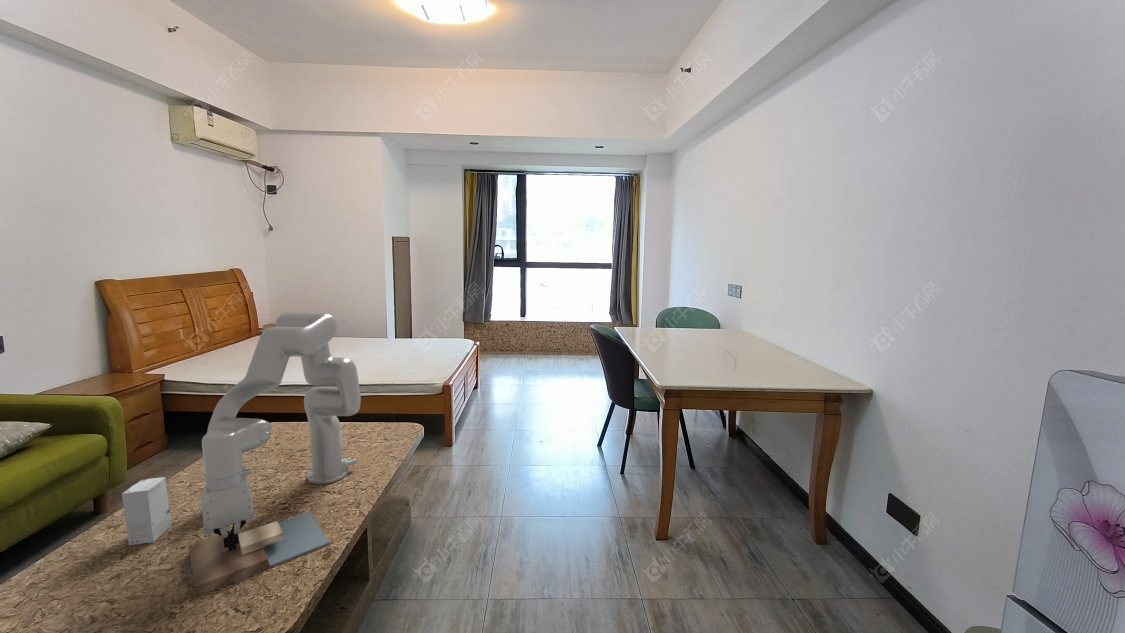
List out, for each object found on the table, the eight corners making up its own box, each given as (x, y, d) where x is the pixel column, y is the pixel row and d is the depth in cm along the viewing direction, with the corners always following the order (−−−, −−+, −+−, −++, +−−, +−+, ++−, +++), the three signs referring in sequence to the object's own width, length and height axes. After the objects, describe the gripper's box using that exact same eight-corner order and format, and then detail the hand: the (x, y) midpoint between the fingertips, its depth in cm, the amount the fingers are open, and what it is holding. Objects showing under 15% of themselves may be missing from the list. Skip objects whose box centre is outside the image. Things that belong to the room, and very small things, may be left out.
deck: (254, 532, 126) (253, 524, 126) (268, 568, 113) (267, 559, 112) (189, 554, 117) (188, 545, 117) (196, 596, 103) (195, 586, 103)
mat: (310, 513, 136) (309, 511, 136) (329, 544, 122) (329, 542, 122) (255, 532, 127) (255, 530, 127) (270, 567, 113) (269, 565, 113)
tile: (277, 527, 125) (277, 520, 125) (283, 539, 120) (282, 532, 119) (237, 541, 119) (237, 534, 118) (242, 554, 114) (241, 547, 113)
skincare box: (153, 543, 121) (147, 491, 119) (127, 546, 120) (119, 493, 118) (172, 525, 129) (166, 475, 127) (147, 527, 128) (141, 477, 126)
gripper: (258, 464, 120) (263, 529, 123) (185, 483, 110) (192, 553, 113) (264, 475, 115) (269, 542, 117) (187, 496, 105) (195, 569, 107)
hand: (231, 547), depth 115 cm, fingers closed
